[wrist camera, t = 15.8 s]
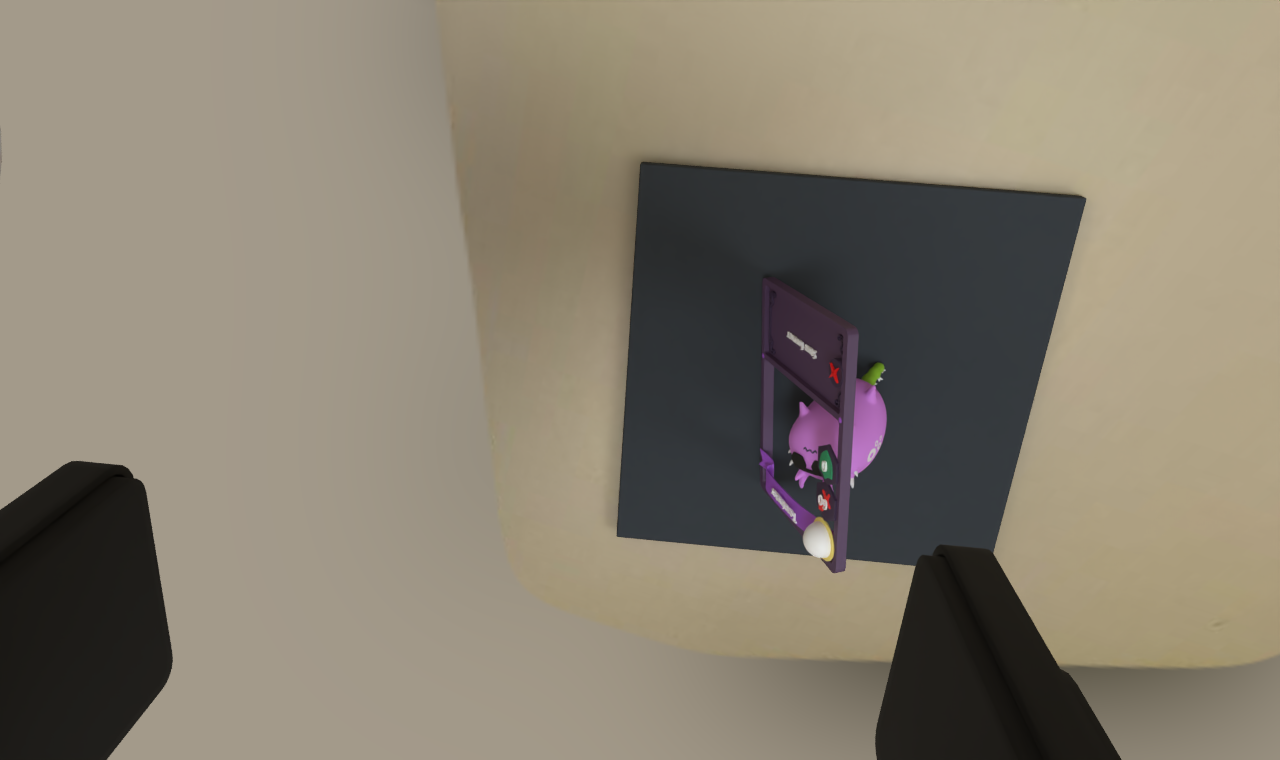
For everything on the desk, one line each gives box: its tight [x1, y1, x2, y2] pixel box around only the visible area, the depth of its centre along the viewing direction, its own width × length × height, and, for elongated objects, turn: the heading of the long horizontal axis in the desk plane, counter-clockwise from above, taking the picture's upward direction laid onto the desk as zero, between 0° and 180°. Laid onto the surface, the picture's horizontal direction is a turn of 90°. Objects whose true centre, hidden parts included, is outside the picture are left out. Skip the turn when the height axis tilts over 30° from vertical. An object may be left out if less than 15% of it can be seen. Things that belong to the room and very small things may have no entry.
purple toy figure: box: [759, 277, 887, 573], centre depth 31 cm, size 7×5×9 cm
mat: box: [617, 162, 1086, 566], centre depth 34 cm, size 16×16×1 cm
